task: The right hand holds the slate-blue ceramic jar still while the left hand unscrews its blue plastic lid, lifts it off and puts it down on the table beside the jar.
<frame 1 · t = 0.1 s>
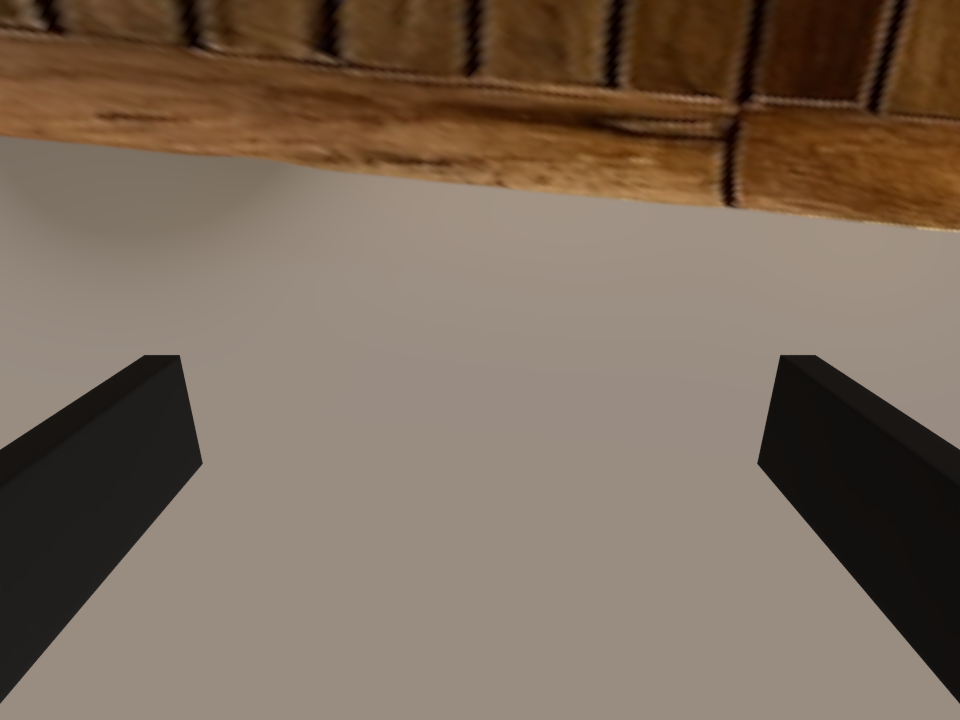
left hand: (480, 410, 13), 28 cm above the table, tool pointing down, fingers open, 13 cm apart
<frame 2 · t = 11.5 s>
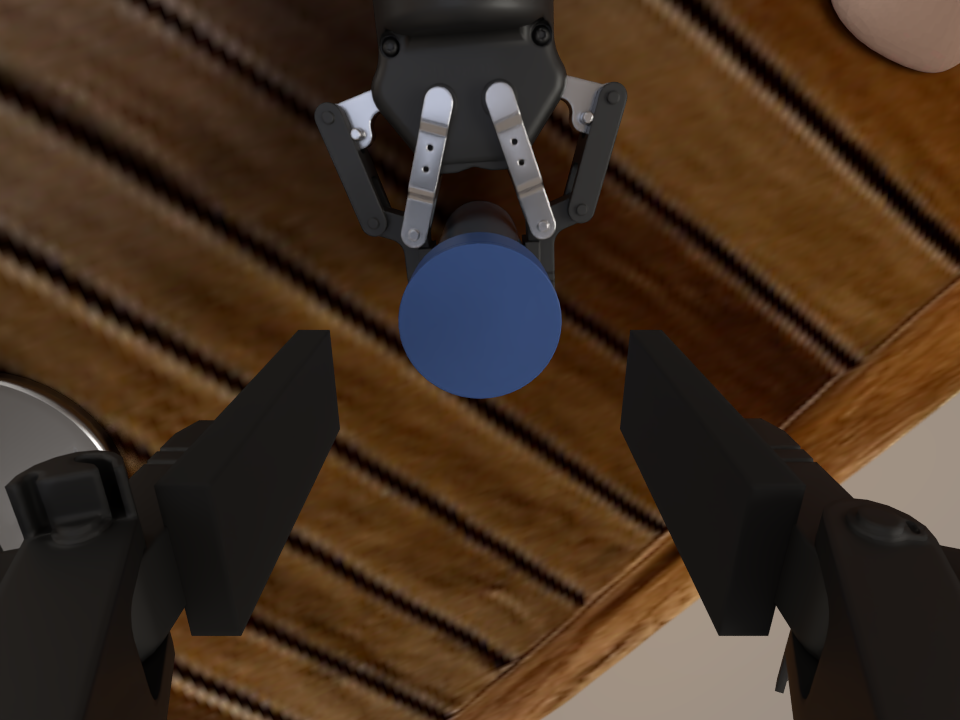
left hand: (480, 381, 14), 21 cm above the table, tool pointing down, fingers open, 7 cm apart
right hand: (484, 312, 29), fingers closed on jar, 4 cm apart
lid: (480, 321, 19), point 16 cm above the table, screwed on, not yet turned
jar: (480, 239, 33), on the table, touching right hand
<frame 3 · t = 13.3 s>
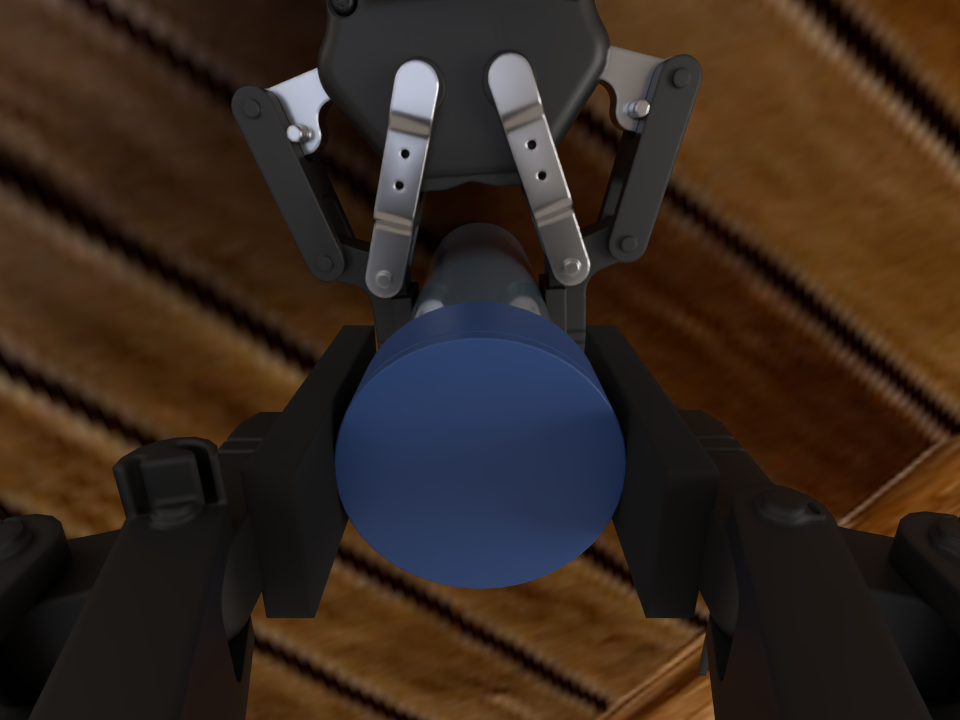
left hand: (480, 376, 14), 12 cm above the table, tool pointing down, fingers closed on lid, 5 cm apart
right hand: (485, 381, 21), fingers closed on jar, 4 cm apart
lid: (480, 465, 11), point 16 cm above the table, screwed on, not yet turned, touching left hand
jar: (479, 272, 25), on the table, touching right hand
when the left hand's fingers open (0 cm above the table, at t = 31.5 s): lid drops 2 cm, point 2 cm above the table.
when the right hand's fingers open (6 cm above the table, at t = 32.0 s): jar stays where it is, on the table.
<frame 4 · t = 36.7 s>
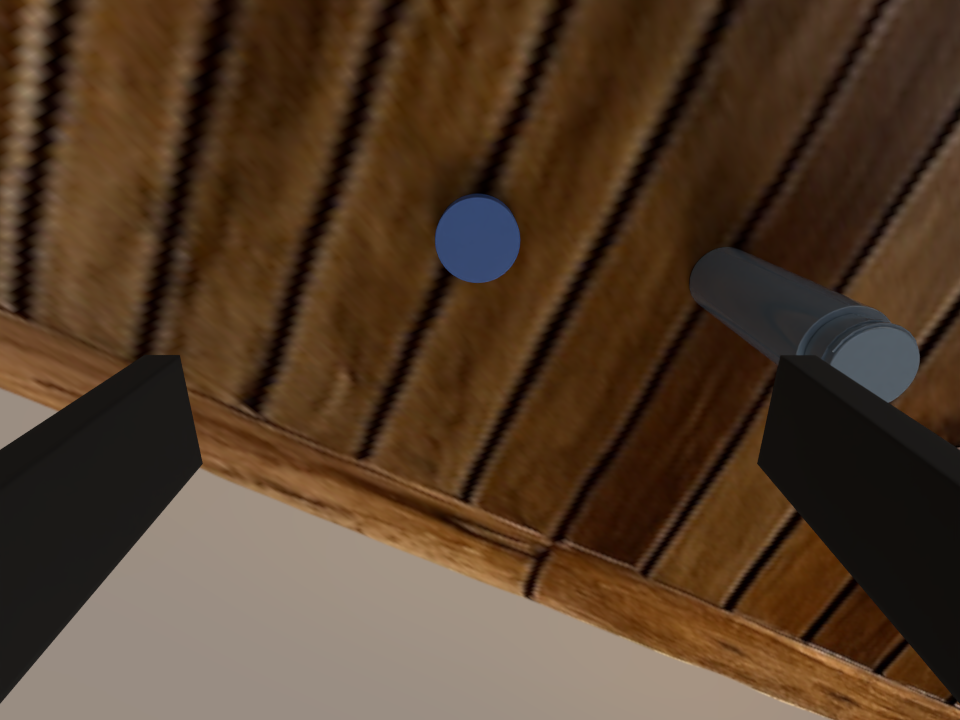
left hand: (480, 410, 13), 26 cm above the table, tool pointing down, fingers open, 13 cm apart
lid: (477, 240, 35), point 2 cm above the table, off its thread
jar: (722, 279, 38), on the table
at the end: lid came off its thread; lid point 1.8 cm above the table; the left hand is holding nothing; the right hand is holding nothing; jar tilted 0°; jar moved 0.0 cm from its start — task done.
